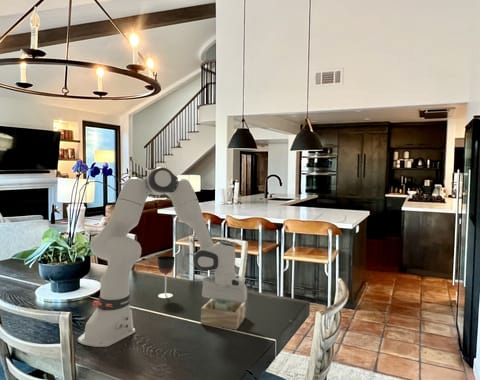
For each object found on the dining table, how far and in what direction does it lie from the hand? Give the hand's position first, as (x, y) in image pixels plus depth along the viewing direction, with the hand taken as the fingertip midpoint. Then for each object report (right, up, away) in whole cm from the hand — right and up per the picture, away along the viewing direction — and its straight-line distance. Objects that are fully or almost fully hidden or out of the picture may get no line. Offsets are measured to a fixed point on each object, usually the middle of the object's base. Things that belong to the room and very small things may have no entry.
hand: (223, 309), depth 164 cm
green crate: (0, -2, 0) cm, 2 cm away
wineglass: (-32, -3, +30) cm, 44 cm away
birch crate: (0, -5, 0) cm, 5 cm away
